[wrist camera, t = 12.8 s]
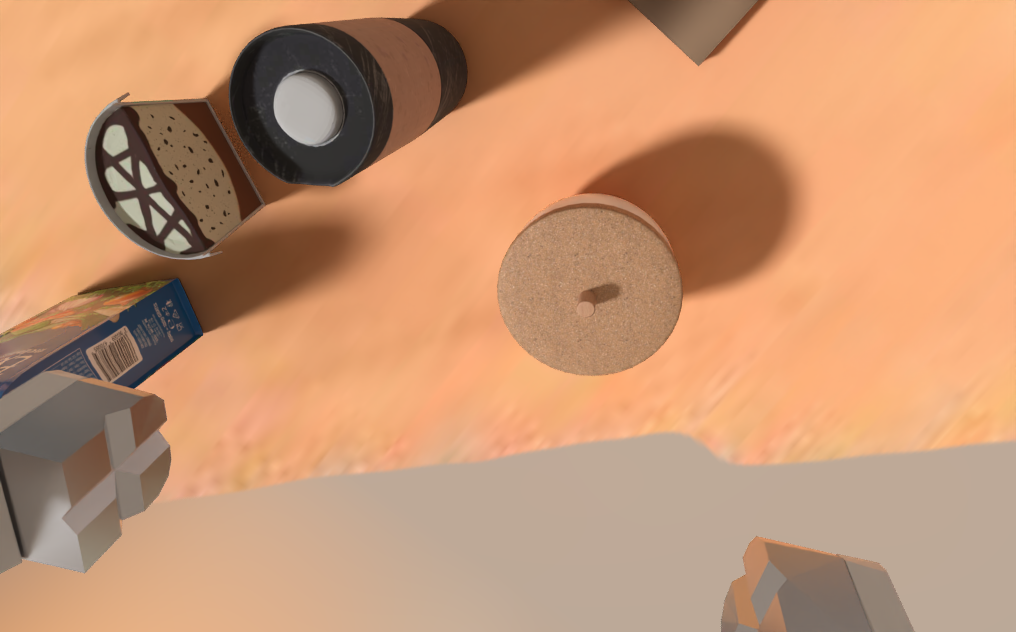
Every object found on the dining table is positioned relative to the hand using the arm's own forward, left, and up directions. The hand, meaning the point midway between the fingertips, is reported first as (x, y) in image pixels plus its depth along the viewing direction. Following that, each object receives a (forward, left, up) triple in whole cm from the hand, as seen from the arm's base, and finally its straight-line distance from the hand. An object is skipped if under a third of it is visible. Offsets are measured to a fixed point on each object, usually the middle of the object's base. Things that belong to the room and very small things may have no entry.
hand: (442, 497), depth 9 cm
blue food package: (+20, +43, -43) cm, 64 cm away
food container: (+21, +25, -43) cm, 54 cm away
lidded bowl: (-8, +9, -43) cm, 45 cm away
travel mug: (+11, +7, -43) cm, 45 cm away
